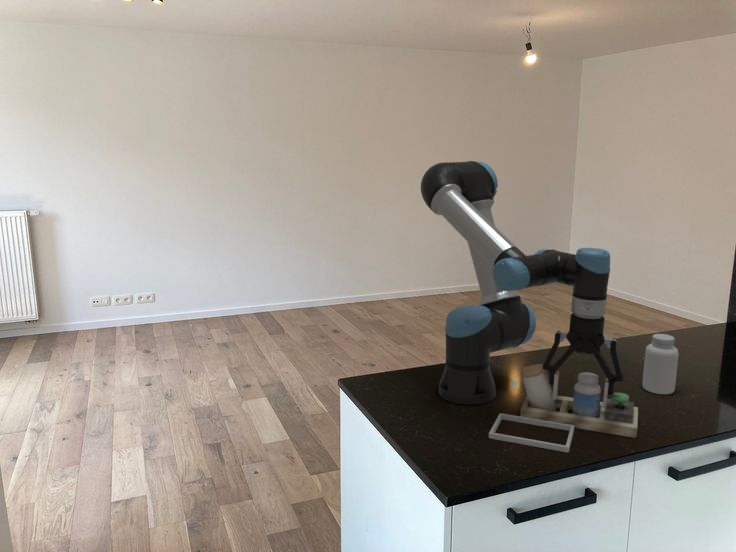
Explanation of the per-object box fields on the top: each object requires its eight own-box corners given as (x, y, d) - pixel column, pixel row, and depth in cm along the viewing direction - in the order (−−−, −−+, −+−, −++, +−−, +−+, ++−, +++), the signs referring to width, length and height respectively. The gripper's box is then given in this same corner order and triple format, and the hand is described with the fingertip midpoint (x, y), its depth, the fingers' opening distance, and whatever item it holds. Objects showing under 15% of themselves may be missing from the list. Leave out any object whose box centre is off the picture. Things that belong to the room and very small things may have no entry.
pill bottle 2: (677, 396, 155) (682, 342, 152) (643, 393, 158) (648, 339, 155) (672, 385, 162) (677, 333, 159) (640, 382, 165) (644, 330, 162)
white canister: (530, 416, 146) (517, 374, 146) (534, 406, 152) (522, 366, 151) (554, 413, 143) (542, 371, 143) (558, 403, 149) (546, 362, 148)
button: (611, 408, 139) (612, 397, 138) (612, 402, 142) (612, 391, 142) (627, 410, 137) (628, 399, 137) (628, 404, 141) (629, 393, 140)
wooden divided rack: (520, 418, 144) (520, 401, 143) (528, 399, 155) (529, 384, 154) (636, 438, 134) (638, 420, 133) (637, 416, 144) (638, 399, 143)
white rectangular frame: (488, 438, 135) (488, 433, 135) (499, 417, 145) (499, 413, 145) (568, 452, 128) (568, 447, 128) (574, 430, 138) (574, 425, 138)
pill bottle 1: (601, 426, 140) (604, 381, 138) (574, 424, 141) (576, 379, 139) (596, 415, 146) (599, 371, 143) (570, 413, 147) (573, 370, 145)
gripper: (534, 312, 140) (527, 398, 145) (641, 325, 130) (631, 417, 135) (539, 304, 147) (532, 387, 151) (642, 316, 137) (631, 405, 142)
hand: (579, 402), depth 143 cm, fingers open, 11 cm apart
